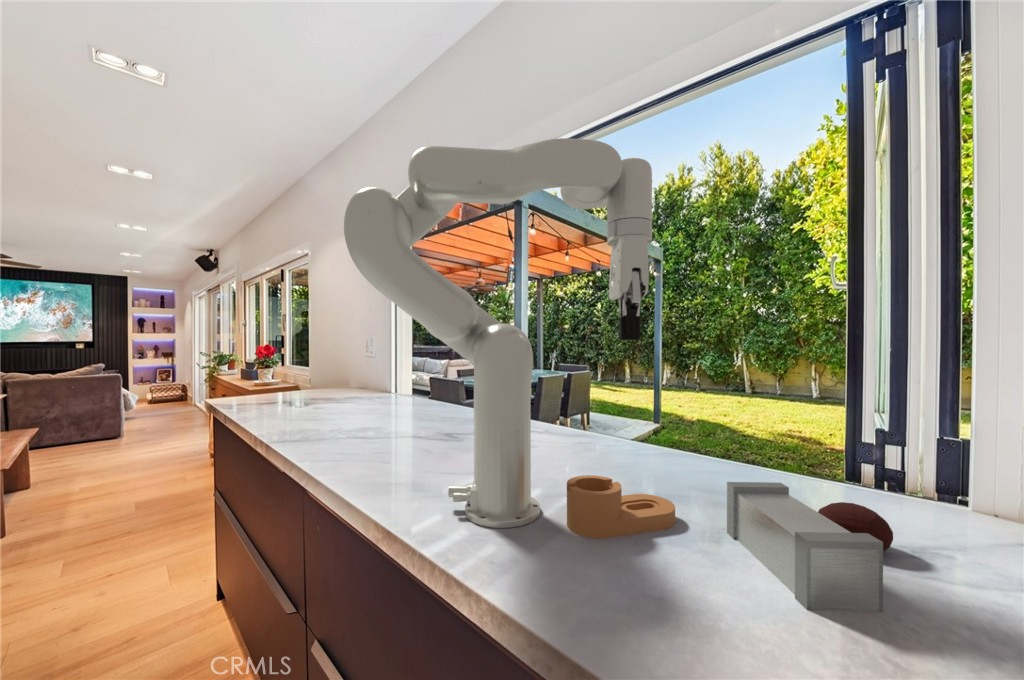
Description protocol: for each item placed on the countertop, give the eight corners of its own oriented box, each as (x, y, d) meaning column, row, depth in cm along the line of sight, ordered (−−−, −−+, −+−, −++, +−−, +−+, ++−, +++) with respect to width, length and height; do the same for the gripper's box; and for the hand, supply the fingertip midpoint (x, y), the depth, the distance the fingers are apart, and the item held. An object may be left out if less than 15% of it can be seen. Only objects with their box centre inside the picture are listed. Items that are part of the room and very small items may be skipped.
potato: (822, 529, 64) (822, 489, 64) (895, 549, 58) (896, 505, 58) (810, 545, 59) (811, 502, 59) (889, 569, 53) (889, 521, 53)
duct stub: (806, 613, 44) (806, 540, 44) (726, 533, 62) (726, 481, 62) (882, 615, 44) (883, 542, 44) (780, 534, 62) (780, 482, 62)
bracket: (581, 545, 59) (581, 497, 59) (558, 520, 67) (558, 478, 67) (686, 528, 65) (686, 483, 65) (653, 507, 72) (653, 467, 72)
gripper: (600, 244, 80) (600, 339, 80) (616, 223, 65) (616, 340, 65) (639, 244, 80) (639, 339, 80) (664, 222, 65) (664, 340, 65)
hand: (629, 339), depth 73 cm, fingers closed
